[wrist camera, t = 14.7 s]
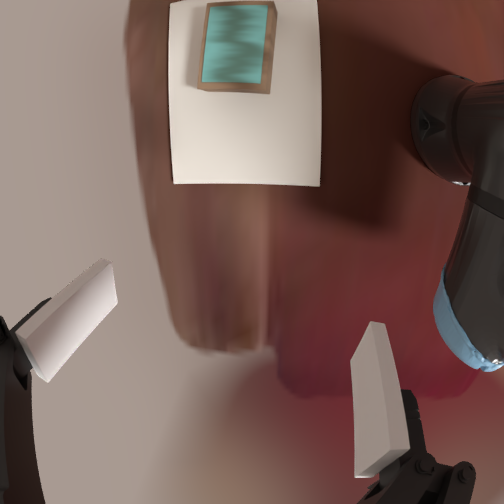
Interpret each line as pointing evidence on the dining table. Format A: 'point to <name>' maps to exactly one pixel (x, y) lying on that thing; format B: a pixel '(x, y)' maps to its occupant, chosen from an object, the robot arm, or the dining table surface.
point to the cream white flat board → (247, 106)
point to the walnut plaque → (238, 47)
